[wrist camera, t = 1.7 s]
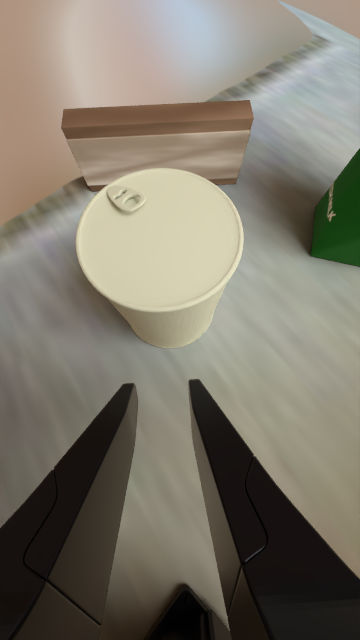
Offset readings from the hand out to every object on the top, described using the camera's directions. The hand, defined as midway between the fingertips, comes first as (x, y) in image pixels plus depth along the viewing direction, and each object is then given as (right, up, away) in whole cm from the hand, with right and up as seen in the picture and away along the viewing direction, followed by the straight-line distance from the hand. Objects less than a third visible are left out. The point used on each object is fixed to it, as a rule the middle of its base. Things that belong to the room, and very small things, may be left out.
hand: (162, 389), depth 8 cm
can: (0, +4, +15) cm, 15 cm away
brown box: (-1, +20, +19) cm, 28 cm away
